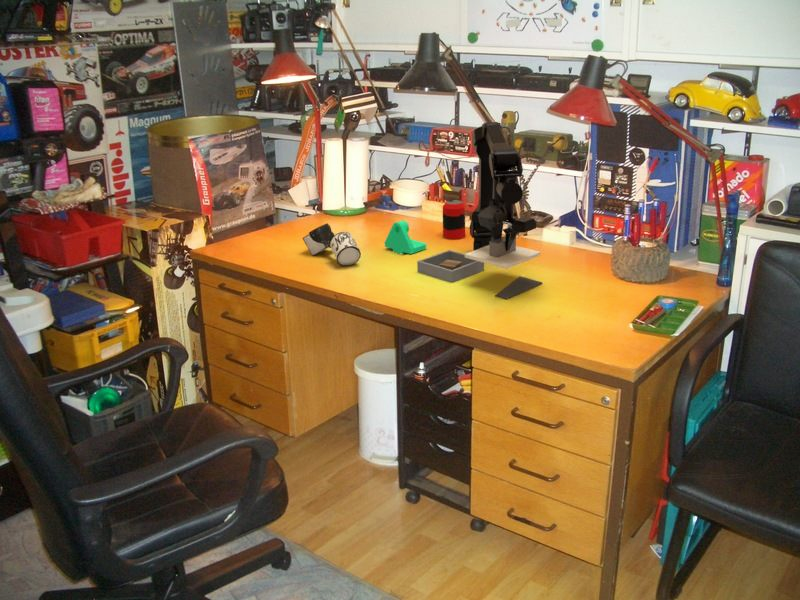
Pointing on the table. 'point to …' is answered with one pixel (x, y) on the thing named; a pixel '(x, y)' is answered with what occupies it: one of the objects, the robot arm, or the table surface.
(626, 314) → the table surface
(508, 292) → the rubber mat
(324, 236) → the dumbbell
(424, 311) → the table surface
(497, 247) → the lid
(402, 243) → the camera mount
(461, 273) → the storage box
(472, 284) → the table surface
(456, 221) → the soda can
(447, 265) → the walnut block
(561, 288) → the table surface
